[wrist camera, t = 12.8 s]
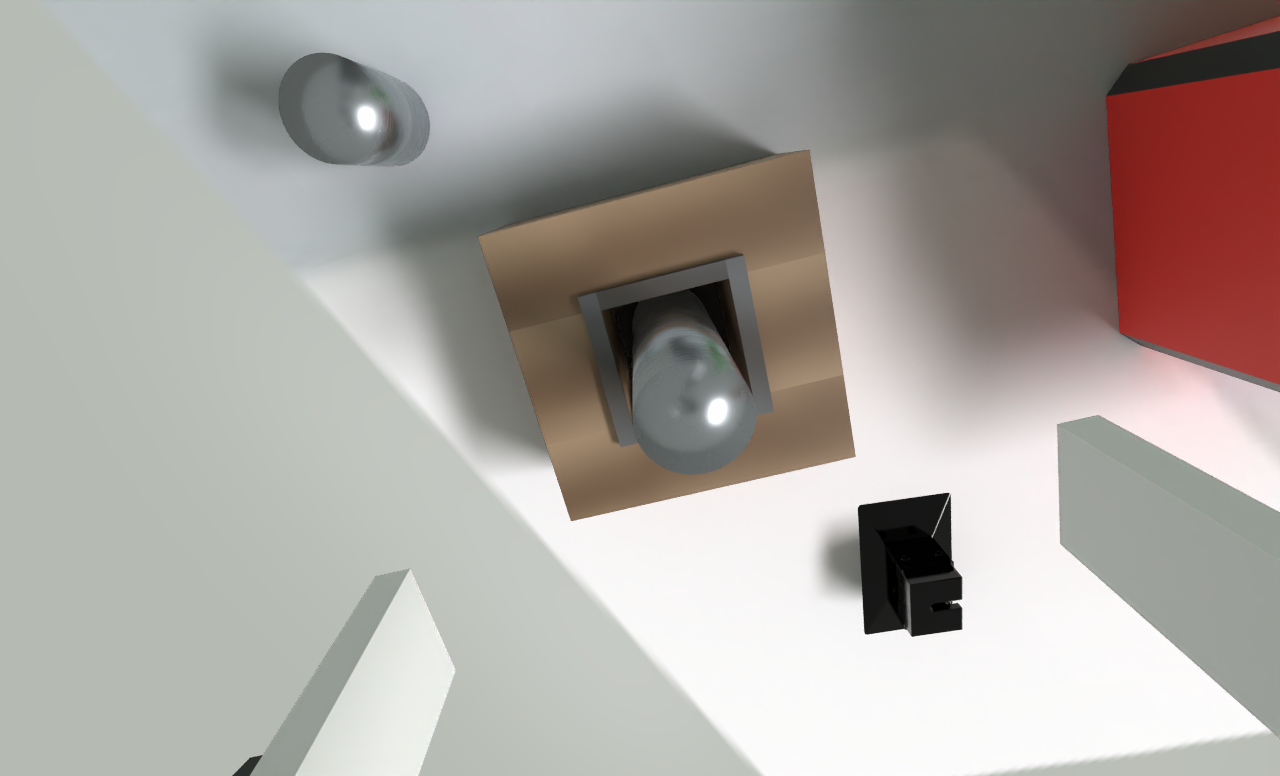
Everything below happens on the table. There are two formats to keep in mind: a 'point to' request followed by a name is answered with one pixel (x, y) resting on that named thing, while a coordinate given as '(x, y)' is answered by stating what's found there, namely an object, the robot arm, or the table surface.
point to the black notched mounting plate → (909, 566)
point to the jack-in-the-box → (1201, 202)
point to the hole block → (661, 264)
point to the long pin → (687, 388)
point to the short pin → (351, 113)
